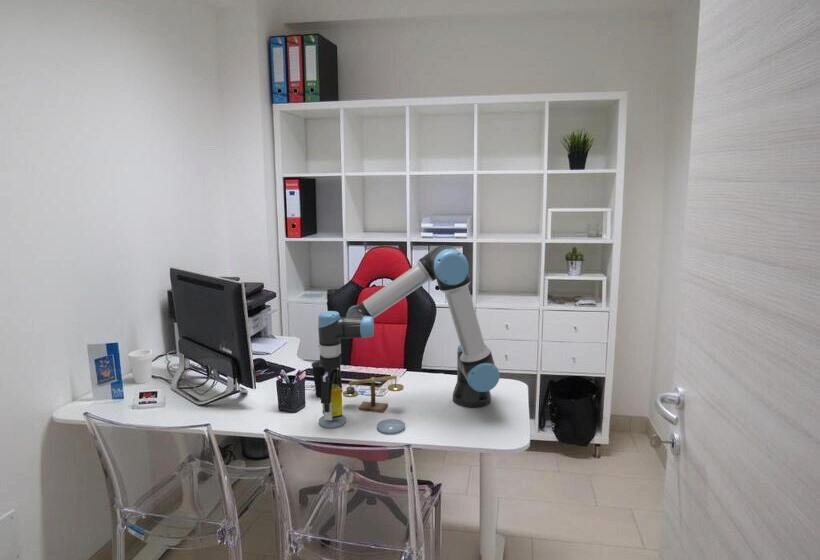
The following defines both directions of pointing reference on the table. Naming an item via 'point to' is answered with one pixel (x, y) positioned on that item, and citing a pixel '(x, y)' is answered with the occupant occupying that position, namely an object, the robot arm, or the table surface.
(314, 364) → the drinking cup
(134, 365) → the foam cup
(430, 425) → the table surface
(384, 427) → the blue-grey plate
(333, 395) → the supplement box
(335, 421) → the dish low side
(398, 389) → the balance beam
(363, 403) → the balance stand
